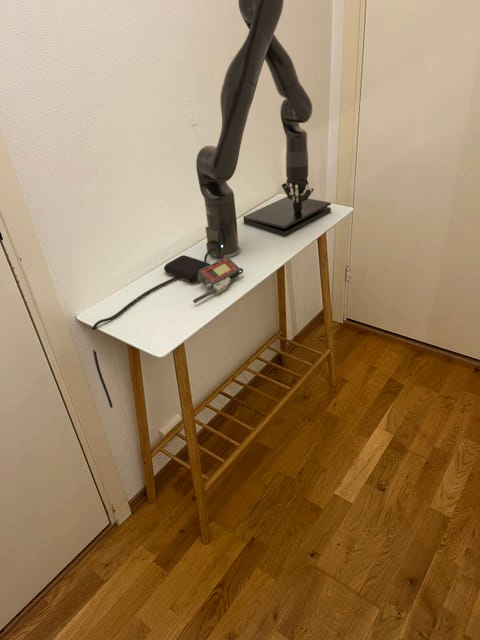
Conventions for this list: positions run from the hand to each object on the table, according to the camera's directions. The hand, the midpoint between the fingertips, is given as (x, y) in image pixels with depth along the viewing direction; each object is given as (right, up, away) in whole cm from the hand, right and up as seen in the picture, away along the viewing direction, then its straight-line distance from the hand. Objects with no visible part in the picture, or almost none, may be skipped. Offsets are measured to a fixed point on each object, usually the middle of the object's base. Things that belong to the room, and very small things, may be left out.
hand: (297, 211), depth 162 cm
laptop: (-3, -1, +5) cm, 6 cm away
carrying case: (-37, -25, -24) cm, 50 cm away
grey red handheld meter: (-28, -27, -35) cm, 52 cm away
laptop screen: (-3, +1, +4) cm, 5 cm away
